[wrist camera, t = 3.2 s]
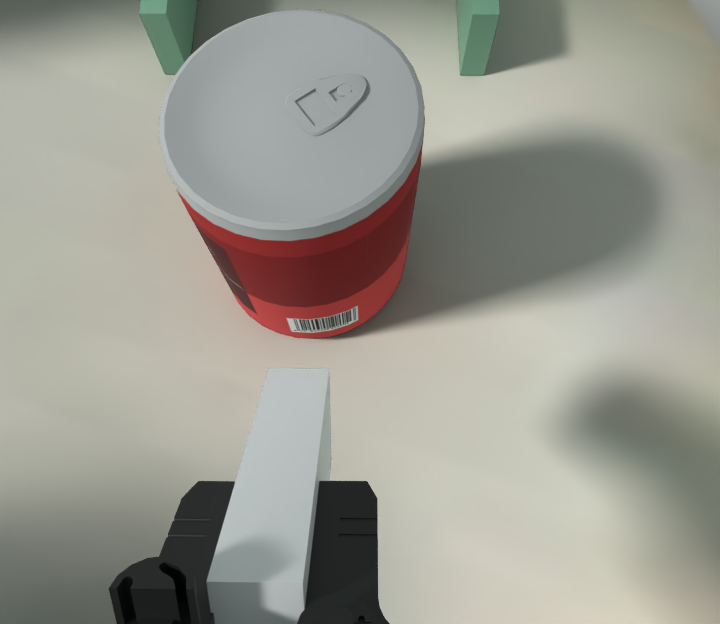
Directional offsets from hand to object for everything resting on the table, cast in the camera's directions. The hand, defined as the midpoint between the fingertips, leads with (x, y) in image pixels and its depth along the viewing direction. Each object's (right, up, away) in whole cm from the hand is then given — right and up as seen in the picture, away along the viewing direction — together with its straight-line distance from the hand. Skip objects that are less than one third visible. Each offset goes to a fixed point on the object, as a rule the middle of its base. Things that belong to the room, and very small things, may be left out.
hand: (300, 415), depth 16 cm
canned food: (0, +5, +13) cm, 14 cm away
